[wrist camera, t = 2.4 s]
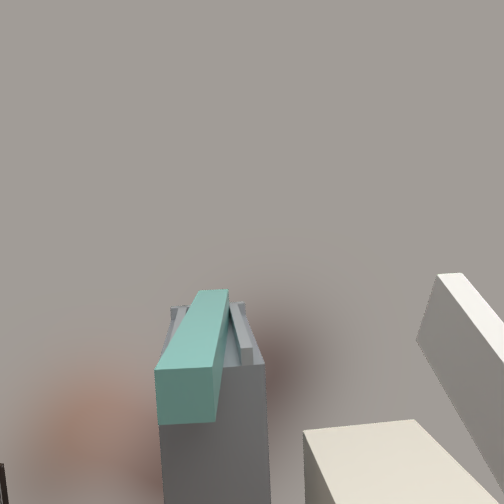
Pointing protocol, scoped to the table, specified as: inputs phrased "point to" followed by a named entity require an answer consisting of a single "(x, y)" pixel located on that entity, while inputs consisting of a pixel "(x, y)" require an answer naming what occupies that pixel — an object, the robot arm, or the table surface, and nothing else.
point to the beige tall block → (384, 467)
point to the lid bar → (194, 362)
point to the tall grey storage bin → (222, 430)
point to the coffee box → (3, 486)
